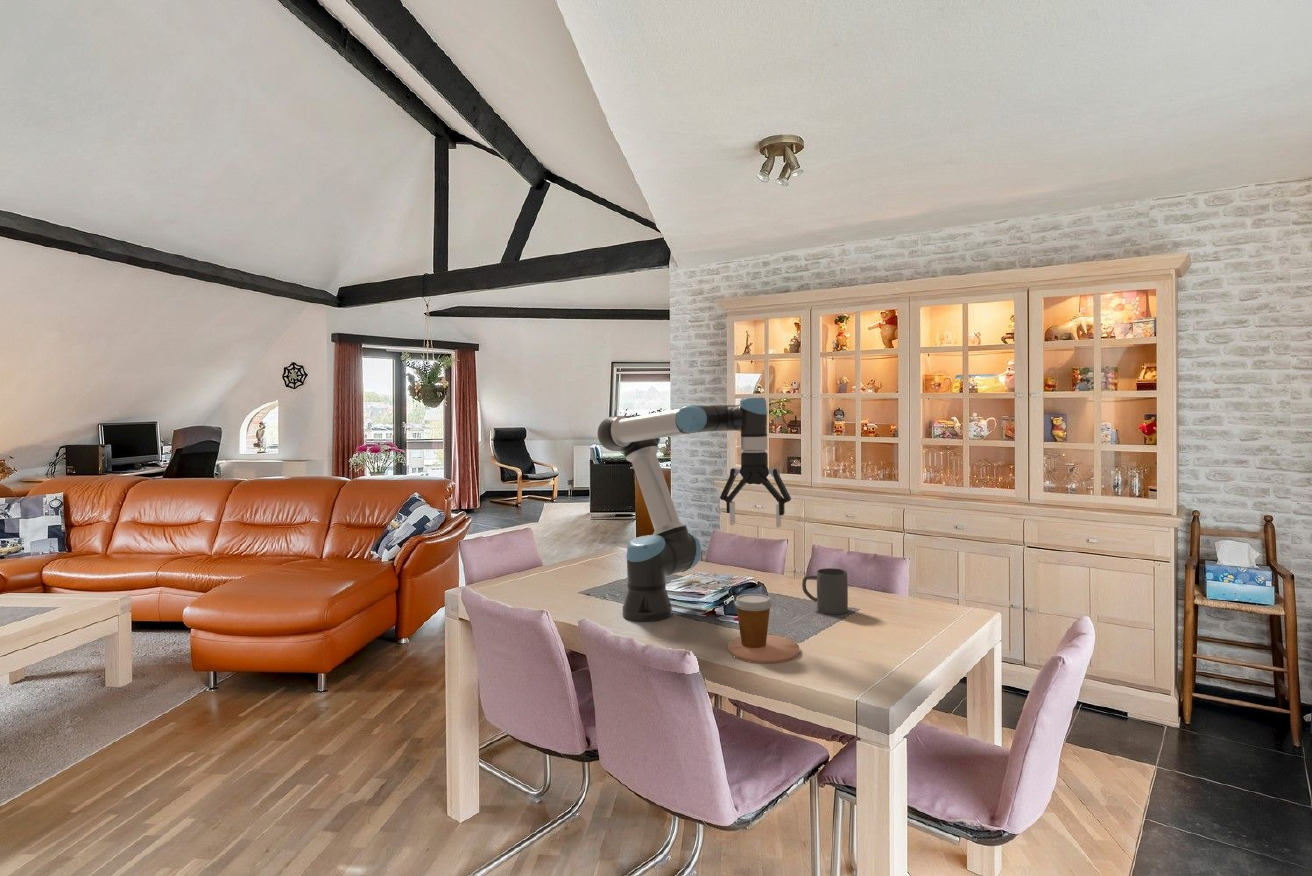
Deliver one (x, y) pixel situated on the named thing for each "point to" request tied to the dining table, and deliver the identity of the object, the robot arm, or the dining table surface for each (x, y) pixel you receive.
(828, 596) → the mug
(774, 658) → the terracotta dish
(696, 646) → the dining table surface
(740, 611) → the disposable coffee cup
